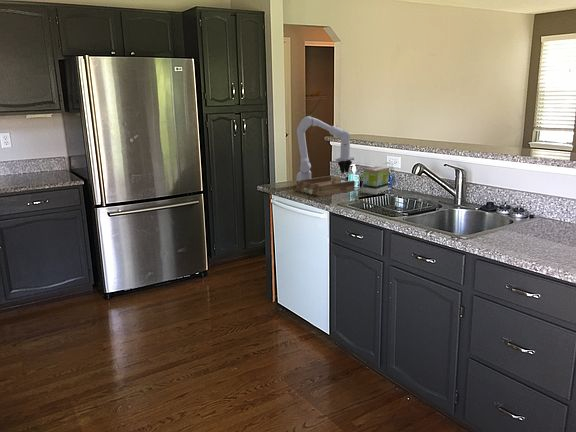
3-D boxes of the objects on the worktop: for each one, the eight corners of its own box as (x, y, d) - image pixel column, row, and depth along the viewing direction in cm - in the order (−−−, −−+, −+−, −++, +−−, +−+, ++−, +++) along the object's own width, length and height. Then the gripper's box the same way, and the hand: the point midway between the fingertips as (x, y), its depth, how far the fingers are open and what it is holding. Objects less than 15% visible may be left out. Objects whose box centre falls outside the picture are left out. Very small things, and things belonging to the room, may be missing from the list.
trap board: (296, 190, 315) (296, 181, 314) (330, 185, 332) (330, 175, 331) (320, 196, 299) (320, 186, 297) (354, 190, 315) (354, 180, 314)
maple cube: (331, 183, 320) (331, 177, 319) (336, 183, 323) (336, 176, 322) (336, 184, 317) (336, 178, 316) (340, 184, 320) (340, 177, 319)
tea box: (377, 195, 302) (378, 170, 299) (362, 192, 308) (362, 168, 305) (388, 190, 314) (389, 166, 310) (374, 188, 320) (374, 165, 316)
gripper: (341, 152, 312) (340, 174, 315) (357, 150, 321) (357, 172, 324) (333, 151, 317) (332, 173, 321) (349, 149, 326) (349, 170, 329)
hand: (344, 172), depth 323 cm, fingers open, 3 cm apart
